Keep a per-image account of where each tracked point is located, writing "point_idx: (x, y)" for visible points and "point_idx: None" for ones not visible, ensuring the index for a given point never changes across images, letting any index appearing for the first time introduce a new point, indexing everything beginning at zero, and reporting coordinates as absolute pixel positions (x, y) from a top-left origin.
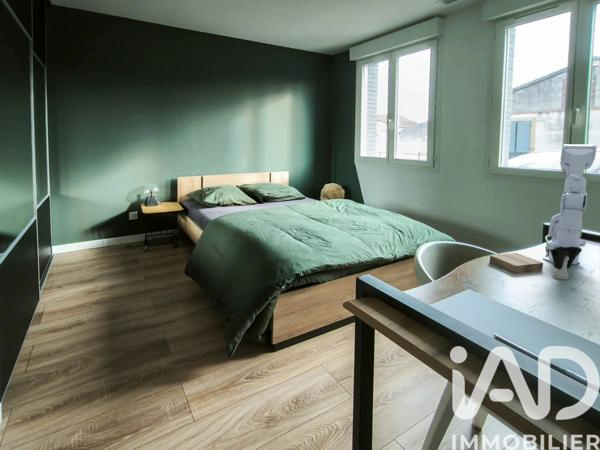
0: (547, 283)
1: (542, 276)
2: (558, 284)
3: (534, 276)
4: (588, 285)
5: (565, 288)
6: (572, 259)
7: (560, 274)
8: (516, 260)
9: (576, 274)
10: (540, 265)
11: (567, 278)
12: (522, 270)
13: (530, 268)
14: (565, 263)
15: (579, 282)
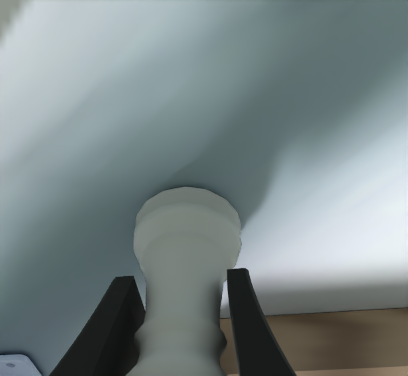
0: (404, 149)
1: (294, 257)
2: (334, 116)
3: (350, 264)
4: (67, 47)
5: (373, 16)
6: (90, 365)
7: (226, 227)
8: None
9: (12, 251)
10: (228, 356)
11: (166, 191)
12: (380, 327)
13: (314, 338)
14: (185, 321)
15: (102, 124)
